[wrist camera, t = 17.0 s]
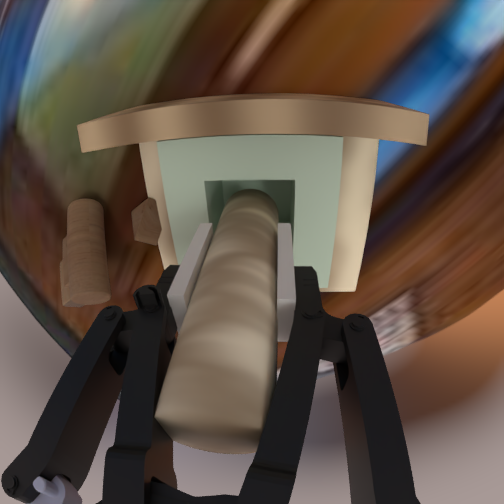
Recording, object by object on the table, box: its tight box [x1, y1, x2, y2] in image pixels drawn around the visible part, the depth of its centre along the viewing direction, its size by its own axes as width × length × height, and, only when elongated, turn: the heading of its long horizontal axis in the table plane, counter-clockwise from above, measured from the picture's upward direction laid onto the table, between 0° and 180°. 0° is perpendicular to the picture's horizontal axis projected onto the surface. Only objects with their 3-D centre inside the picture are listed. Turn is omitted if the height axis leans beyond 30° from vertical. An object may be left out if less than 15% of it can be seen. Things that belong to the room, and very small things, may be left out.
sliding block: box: [157, 134, 343, 288], centre depth 23 cm, size 12×12×7 cm
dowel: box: [154, 189, 279, 454], centre depth 15 cm, size 4×4×16 cm
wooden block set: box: [60, 197, 162, 307], centre depth 28 cm, size 18×9×10 cm
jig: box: [77, 93, 429, 292], centre depth 24 cm, size 22×21×10 cm
